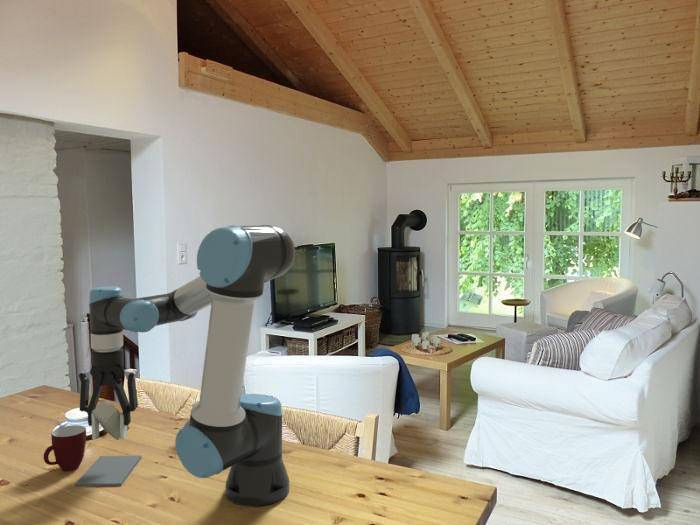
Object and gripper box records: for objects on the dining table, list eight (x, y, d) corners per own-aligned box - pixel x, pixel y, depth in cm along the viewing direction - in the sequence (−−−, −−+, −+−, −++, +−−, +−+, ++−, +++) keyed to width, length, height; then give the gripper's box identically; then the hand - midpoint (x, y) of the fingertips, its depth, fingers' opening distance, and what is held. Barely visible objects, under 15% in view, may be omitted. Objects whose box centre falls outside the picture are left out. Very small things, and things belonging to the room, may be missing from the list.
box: (130, 428, 153) (119, 409, 145) (117, 441, 151) (105, 423, 142) (116, 417, 155) (104, 398, 146) (103, 430, 153) (90, 412, 144)
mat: (141, 457, 158) (141, 455, 157) (121, 485, 142) (120, 483, 142) (100, 458, 157) (100, 455, 157) (75, 486, 141) (74, 484, 141)
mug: (57, 482, 143) (55, 442, 142) (36, 474, 147) (35, 436, 146) (94, 465, 153) (92, 428, 152) (73, 459, 156) (72, 423, 155)
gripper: (150, 344, 150) (152, 431, 152) (74, 344, 149) (77, 431, 151) (141, 352, 142) (143, 443, 145) (61, 352, 142) (64, 443, 144)
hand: (109, 437), depth 148 cm, fingers closed on box, 6 cm apart
